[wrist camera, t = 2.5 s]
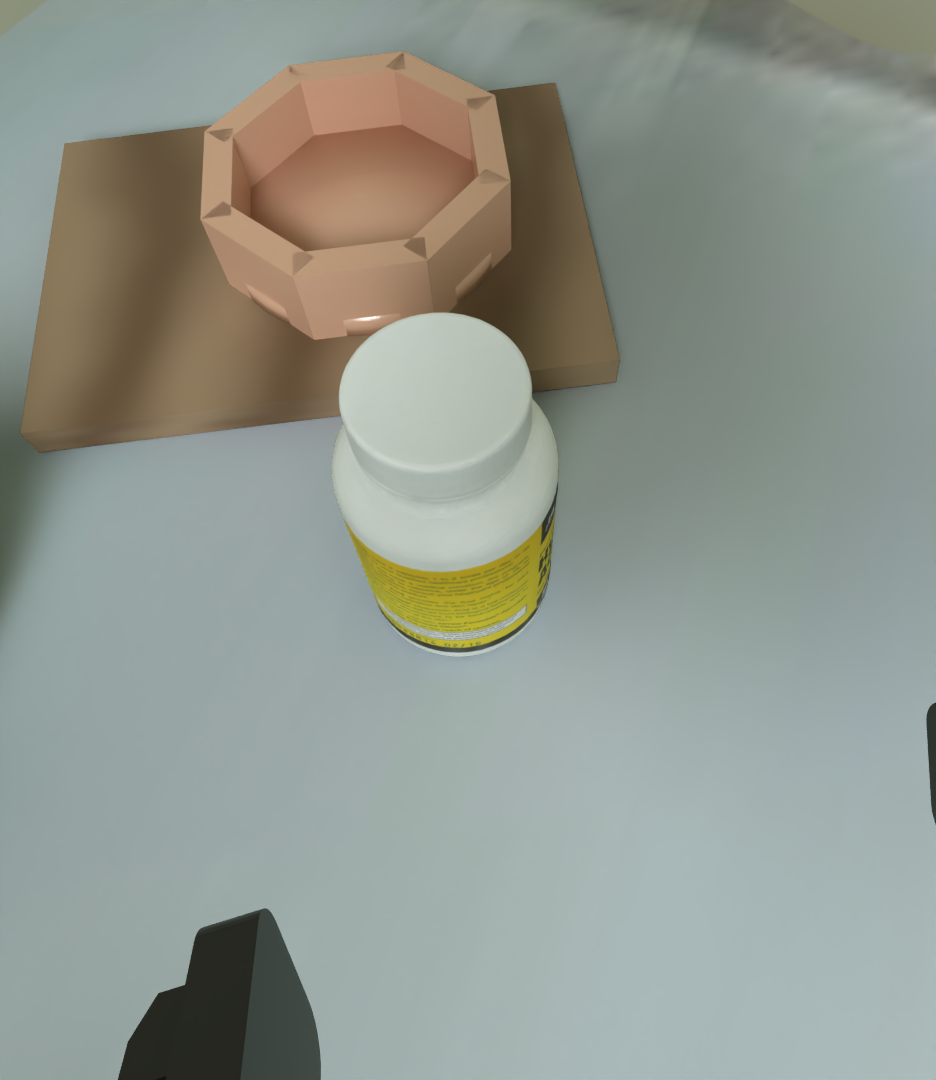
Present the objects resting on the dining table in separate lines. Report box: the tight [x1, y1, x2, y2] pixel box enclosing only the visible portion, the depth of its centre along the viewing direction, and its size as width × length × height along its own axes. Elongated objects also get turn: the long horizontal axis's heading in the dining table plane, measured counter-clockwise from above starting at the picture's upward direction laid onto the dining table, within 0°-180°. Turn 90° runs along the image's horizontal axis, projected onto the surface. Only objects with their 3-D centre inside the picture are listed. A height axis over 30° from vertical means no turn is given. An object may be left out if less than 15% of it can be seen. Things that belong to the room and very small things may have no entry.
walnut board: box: [20, 83, 620, 452], centre depth 31 cm, size 20×14×1 cm
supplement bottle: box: [332, 313, 559, 656], centre depth 21 cm, size 5×5×10 cm
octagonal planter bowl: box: [200, 51, 511, 340], centre depth 29 cm, size 10×10×3 cm
